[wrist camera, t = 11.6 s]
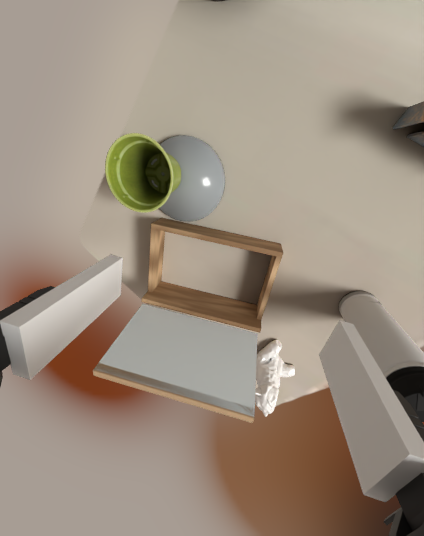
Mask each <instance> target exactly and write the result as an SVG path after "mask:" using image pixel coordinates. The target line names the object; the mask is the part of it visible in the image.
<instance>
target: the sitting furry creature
mask: <svg viewBox="0 0 424 536" xmlns="http://www.w3.org/2000/svg"><path fill="white" fill-rule="evenodd" d="M281 348H282V344H281V342H280V341H278V340H274V341H272V342H270V343H269V344H267V346H266V347H264V348H263V349H262V350H261V351H259V353H258V354H257V361H256V380H257V384H258V388H256V389H255V402H256V406H258V407H259V408H260V410H262V411H263V413H264V415H265V416H267V415H268V414H270V413H272V412H273V410H274V407H275V406H276V400H277V397H278V393H279V390H278V387H279V386H280V379H279V378H280V377H290V376H295V371H294V365H287V364H285V363H284V362H283V361H282V359H281V357H279V354H278V353H279V351H280V350H281ZM271 358H272V359H271Z"/></svg>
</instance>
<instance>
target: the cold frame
mask: <svg viewBox="0 0 424 536" xmlns="http://www.w3.org/2000/svg"><path fill="white" fill-rule="evenodd" d="M165 231H166V232H170V233H174V234H179V235H183V236H188V237H192V238H197V239H201V240H206V241H210V242H214V243H219V244H223V245H228V246H232V247H237V248H241V249H246V250H250V251H255V252H259V253H263V254H268V255H272V258H271V261H270V264H269V268H268V271H267V274H266V277H265V280H264V284H263V287H262V290H261V293H260V297H259V300H258V303H257V305H255V304H251V303H247V302H242V301H238V300H234V299H230V298H226V297H222V296H218V295H214V294H210V293H206V292H202V291H198V290H194V289H190V288H186V287H182V286H178V285H174V284H170V283H166V282H162V281H161V276H162V264H163V251H164V238H165ZM282 255H283V250H282V246H281V244H279V243H275V242H270V241H266V240H261V239H257V238H252V237H247V236H243V235H238V234H234V233H229V232H225V231H220V230H215V229H211V228H206V227H202V226H197V225H193V224H188V223H183V222H179V221H174V220H170V219H165V218H160V219H159V220H157V221H155V222H153V223H151V239H150V259H149V279H148V292H147V293H146V294H145V295H144V296H143V297H142V302H144V303H148V304H152V305H155V306H159V307H163V308H167V309H171V310H175V311H179V312H182V313H186V314H190V315H194V316H198V317H202V318H206V319H209V320H213V321H217V322H221V323H225V324H229V325H233V326H236V327H240V328H244V329H248V330H252V331H256V332H259V333H260V331H261V319H262V316H263V313H264V310H265V307H266V304H267V301H268V297H269V294H270V291H271V288H272V285H273V282H274V279H275V276H276V273H277V270H278V267H279V264H280V261H281V258H282Z"/></svg>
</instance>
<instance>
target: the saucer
mask: <svg viewBox="0 0 424 536" xmlns="http://www.w3.org/2000/svg"><path fill="white" fill-rule="evenodd" d="M160 145H161V147H162V148H163V149H164V150H165V152H166V153H168V154H170V155H171V156H173V157H174V158H175V159H176V160H177V162H178V163H179V165H180V168H181V182H180V184H179V186H178V188H177V189H176V190H174V191H173V192H172V193H171V194H170V196H169V198H168V200H167V201H166V202H165V204H164V205H162V206H161V207H160V209H161V210H162V211H163V212H164V213H165V214H167V215H168V216H170V217H172V218H174V219H176V220H180V221H196V220H199V219H202V218H204V217H206V216H207V215H209V214H210V213H211V212H212V211H213V210H214V209H215V208H216V207H217V205H218V204H219V202H220V200H221V198H222V196H223V193H224V188H225V173H224V168H223V165H222V163H221V160H220V158H219V156H218V155H217V153H216V152H215V151H214V150H213V149H212V148H211V147H210V146H209V145H208V144H207V143H205V142H204V141H202V140H200V139H197V138H195V137H191V136H185V135H183V136H175V137H172V138H169V139H167V140H165V141H164V142H162V143H161V144H160ZM156 161H157V159H154V160H153V161H152V162H151V165H153V164H154V162H156ZM161 174H162V175H163V176H164V172H162V173H161ZM152 183H153V185H154V186H155V187H158V186H157V185H156V184H155V183H154V181H153V180H152Z"/></svg>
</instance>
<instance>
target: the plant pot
mask: <svg viewBox="0 0 424 536" xmlns="http://www.w3.org/2000/svg"><path fill="white" fill-rule="evenodd" d="M154 159H157V161H156V162H154V164H153V165H151V162H152V161H153V160H154ZM162 172H164V176H163V175H162V174H161V173H162ZM105 175H106V179H107V183H108V185H109V188H110V190H111V192H112V193H113V195H114V196H115V197H116V199H117V200H118V201H119V202H120V203H121V204H122V205H124V206H125V207H127V208H129V209H131V210H133V211H136V212H144V213H146V212H152V211H154V210H157V209H158V208H160V207H161V206H162V205H164V204H165V202H166V201H167V200H168V198H169V196H170V194H171V193H172V192H173V191H174V190H176V189H177V188H178V186H179V184H180V182H181V168H180V165H179V163H178V162H177V160H176V159H175V158H174V157H173V156H171V155H170V154H168V153H166V152H165V150H164V149H163V148H162V147H161V145H160V144H159V143H157V142H156V141H155V140H154V139H152V138H150V137H148V136H146V135H143V134H138V133H130V134H126V135H123V136H121V137H120V138H118V139H117V140H116V141H115V142H114V143H113V144H112V146H111V147H110V149H109V151H108V154H107V157H106V163H105ZM152 180H153V181H154V183H155V184H156V185H157V186H158V187H155V186H154V185H153V183H152Z"/></svg>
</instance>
